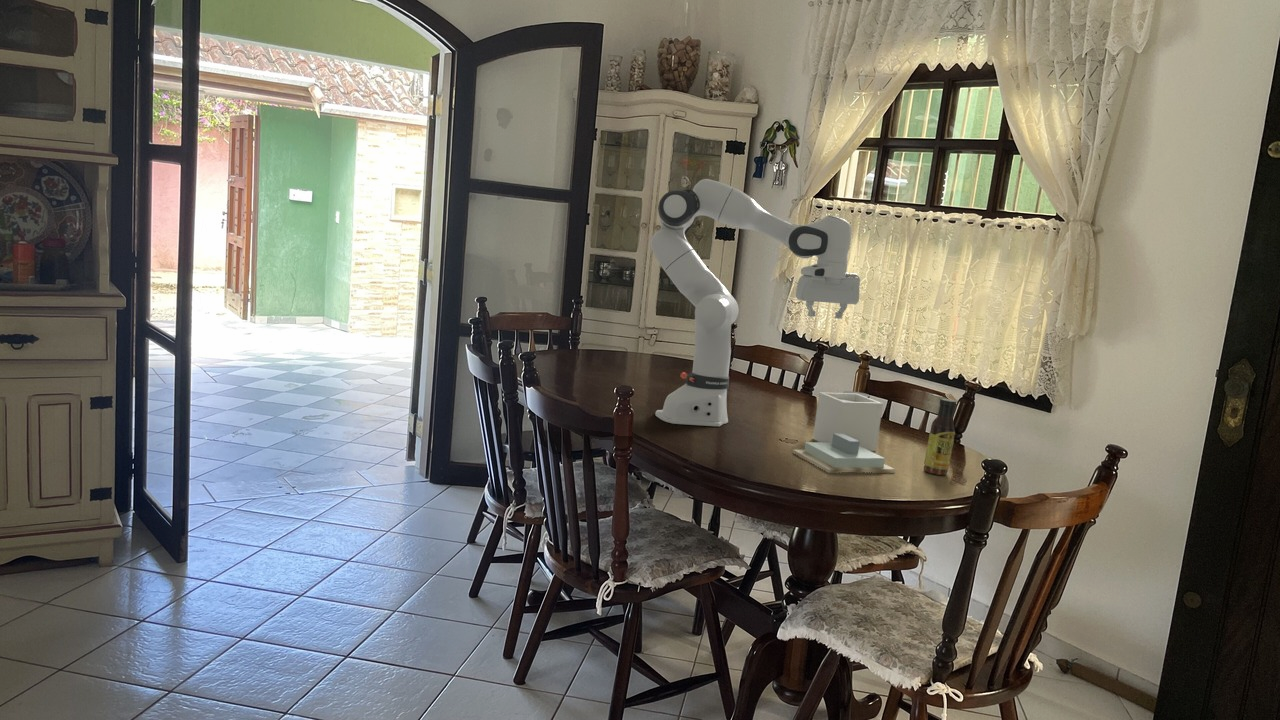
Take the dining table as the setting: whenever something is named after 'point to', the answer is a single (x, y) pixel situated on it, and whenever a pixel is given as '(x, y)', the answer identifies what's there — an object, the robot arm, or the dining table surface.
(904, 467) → the dining table surface
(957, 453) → the dining table surface
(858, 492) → the dining table surface
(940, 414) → the sauce bottle
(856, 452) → the lid
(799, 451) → the board
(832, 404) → the box
